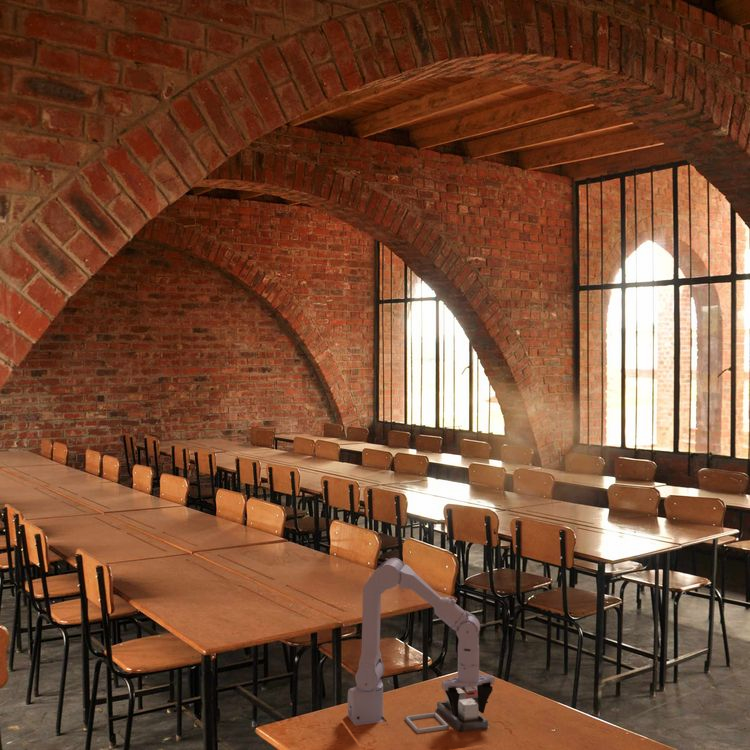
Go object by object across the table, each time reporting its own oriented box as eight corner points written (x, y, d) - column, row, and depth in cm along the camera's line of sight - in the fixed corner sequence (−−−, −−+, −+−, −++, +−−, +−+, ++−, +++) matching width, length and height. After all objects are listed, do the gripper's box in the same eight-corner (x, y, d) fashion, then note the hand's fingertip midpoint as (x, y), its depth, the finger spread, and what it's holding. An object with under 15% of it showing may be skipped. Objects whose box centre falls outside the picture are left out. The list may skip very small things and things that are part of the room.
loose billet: (464, 728, 219) (464, 705, 219) (458, 722, 223) (458, 699, 223) (478, 726, 220) (478, 703, 220) (471, 720, 224) (471, 698, 224)
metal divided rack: (458, 737, 216) (458, 725, 216) (435, 713, 232) (435, 702, 232) (490, 732, 219) (490, 721, 219) (464, 709, 234) (464, 698, 234)
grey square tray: (417, 737, 216) (417, 730, 216) (404, 723, 224) (404, 716, 224) (448, 733, 219) (448, 725, 219) (435, 719, 227) (435, 712, 227)
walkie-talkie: (495, 707, 237) (466, 683, 256) (495, 692, 237) (466, 668, 256) (466, 711, 234) (440, 686, 253) (466, 695, 234) (440, 671, 253)
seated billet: (452, 716, 227) (452, 694, 227) (446, 710, 231) (446, 689, 231) (465, 714, 228) (465, 692, 228) (459, 708, 232) (459, 687, 232)
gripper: (449, 670, 216) (449, 723, 216) (499, 664, 220) (499, 715, 220) (438, 661, 222) (438, 712, 222) (487, 656, 227) (487, 705, 227)
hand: (468, 713), depth 222 cm, fingers open, 7 cm apart
